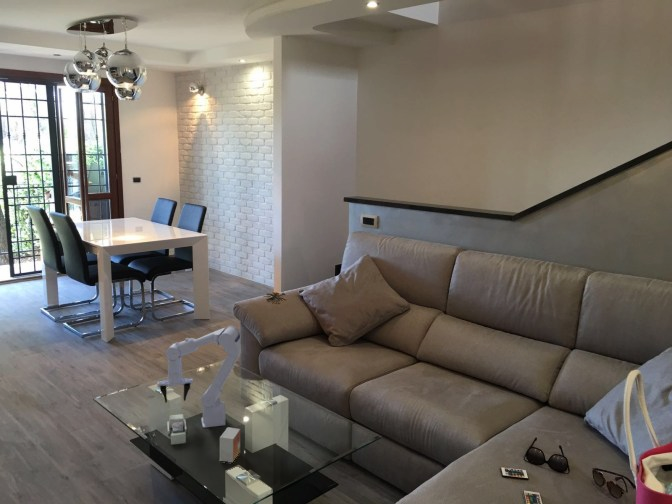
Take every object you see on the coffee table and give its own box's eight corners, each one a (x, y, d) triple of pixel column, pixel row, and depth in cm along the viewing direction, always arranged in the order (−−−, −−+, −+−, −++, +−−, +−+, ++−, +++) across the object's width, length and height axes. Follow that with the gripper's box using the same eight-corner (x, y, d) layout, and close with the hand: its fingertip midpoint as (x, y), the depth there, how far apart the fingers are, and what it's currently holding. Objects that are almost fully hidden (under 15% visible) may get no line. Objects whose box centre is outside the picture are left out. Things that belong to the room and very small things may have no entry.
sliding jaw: (183, 422, 241) (182, 414, 240) (183, 426, 238) (183, 418, 237) (169, 424, 239) (169, 415, 239) (169, 428, 236) (169, 419, 235)
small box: (233, 464, 214) (233, 439, 212) (219, 462, 215) (219, 437, 213) (240, 452, 222) (240, 428, 219) (227, 450, 223) (227, 426, 220)
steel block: (182, 432, 234) (182, 421, 233) (183, 440, 228) (183, 429, 227) (172, 434, 232) (172, 423, 231) (173, 441, 227) (172, 430, 226)
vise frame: (185, 422, 242) (185, 413, 241) (188, 442, 227) (187, 433, 226) (167, 424, 239) (167, 415, 238) (168, 444, 224) (168, 435, 223)
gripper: (191, 366, 246) (191, 394, 249) (156, 369, 241) (157, 398, 244) (193, 372, 239) (193, 402, 242) (157, 376, 234) (158, 405, 237)
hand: (175, 400), depth 243 cm, fingers open, 7 cm apart
